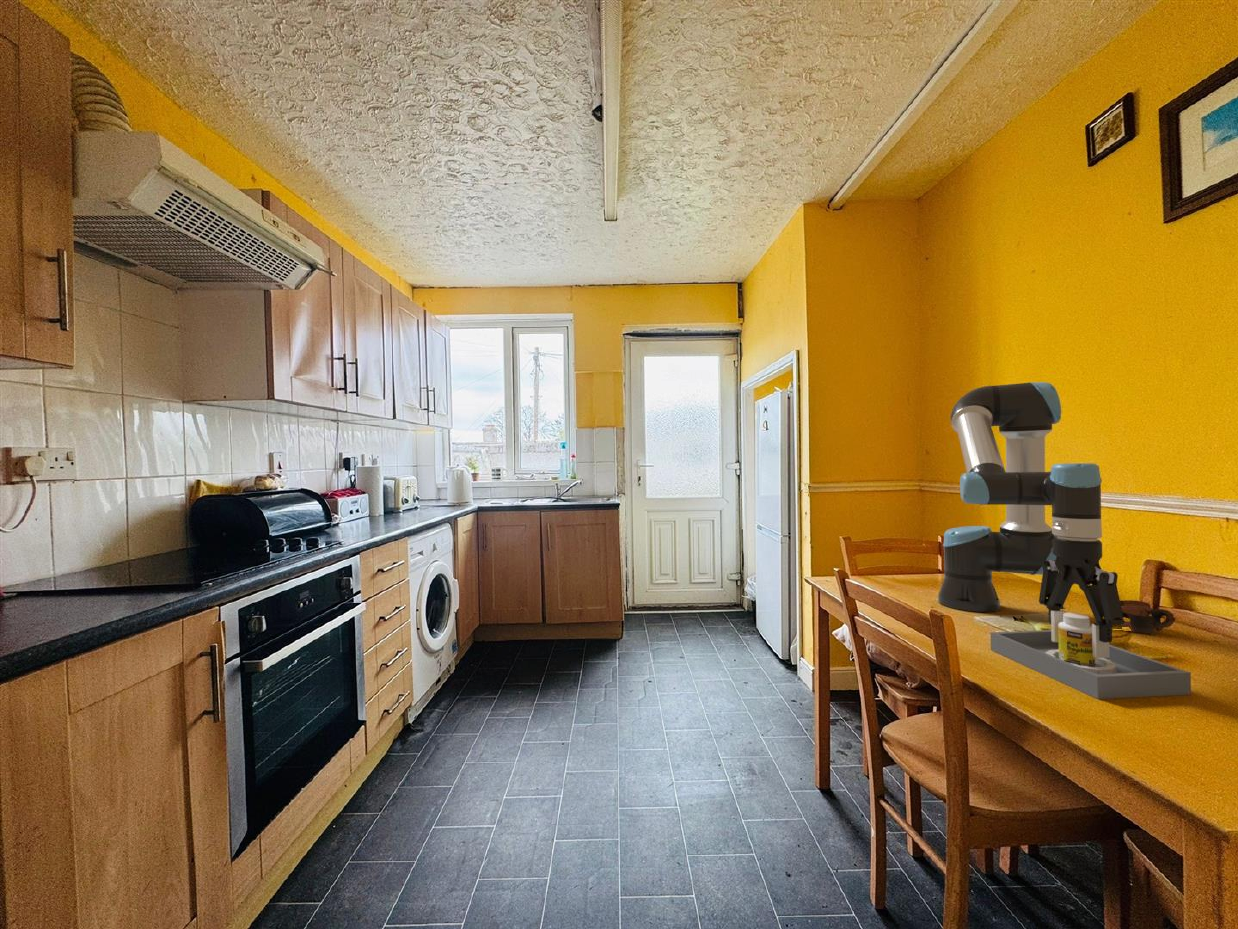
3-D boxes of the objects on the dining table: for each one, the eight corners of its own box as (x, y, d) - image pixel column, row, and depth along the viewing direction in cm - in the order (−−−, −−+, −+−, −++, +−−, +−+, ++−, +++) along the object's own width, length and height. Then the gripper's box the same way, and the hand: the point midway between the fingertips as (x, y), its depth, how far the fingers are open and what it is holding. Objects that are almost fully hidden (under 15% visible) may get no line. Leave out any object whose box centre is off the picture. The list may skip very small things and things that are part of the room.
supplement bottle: (1063, 667, 101) (1061, 617, 101) (1055, 658, 106) (1054, 610, 106) (1100, 673, 98) (1099, 621, 98) (1090, 663, 103) (1089, 613, 103)
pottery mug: (1106, 631, 126) (1099, 599, 129) (1121, 641, 130) (1114, 610, 133) (1174, 631, 116) (1164, 596, 120) (1188, 642, 120) (1178, 608, 124)
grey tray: (990, 650, 113) (990, 632, 113) (1065, 646, 114) (1065, 629, 114) (1097, 699, 89) (1097, 677, 89) (1191, 694, 90) (1190, 672, 90)
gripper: (1015, 532, 112) (1018, 632, 112) (1112, 546, 91) (1115, 670, 91) (1047, 531, 113) (1049, 631, 113) (1150, 545, 92) (1153, 668, 92)
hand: (1079, 648), depth 102 cm, fingers open, 8 cm apart
